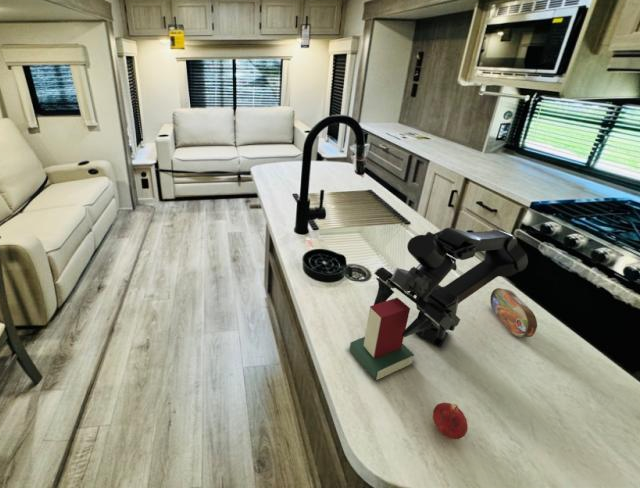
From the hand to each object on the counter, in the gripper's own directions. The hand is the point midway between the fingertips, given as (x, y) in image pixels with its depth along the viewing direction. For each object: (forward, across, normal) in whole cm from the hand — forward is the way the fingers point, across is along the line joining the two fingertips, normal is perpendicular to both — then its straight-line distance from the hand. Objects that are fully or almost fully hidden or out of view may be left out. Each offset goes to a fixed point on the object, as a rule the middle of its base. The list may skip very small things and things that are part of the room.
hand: (387, 322), depth 76 cm
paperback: (+6, 0, +6) cm, 8 cm away
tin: (-21, +6, +38) cm, 44 cm away
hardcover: (+8, 0, +8) cm, 11 cm away
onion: (+9, +19, +7) cm, 22 cm away
